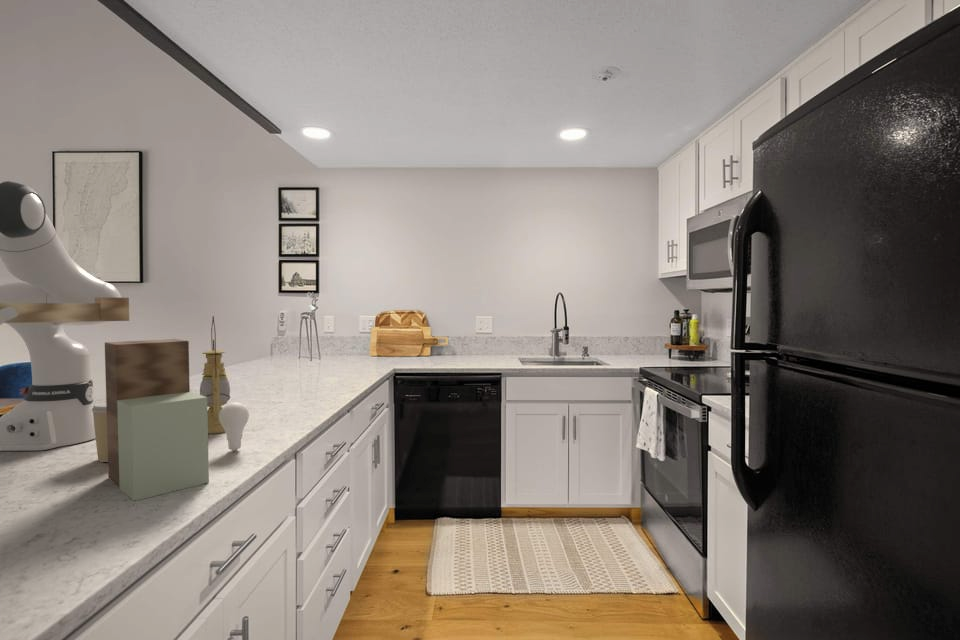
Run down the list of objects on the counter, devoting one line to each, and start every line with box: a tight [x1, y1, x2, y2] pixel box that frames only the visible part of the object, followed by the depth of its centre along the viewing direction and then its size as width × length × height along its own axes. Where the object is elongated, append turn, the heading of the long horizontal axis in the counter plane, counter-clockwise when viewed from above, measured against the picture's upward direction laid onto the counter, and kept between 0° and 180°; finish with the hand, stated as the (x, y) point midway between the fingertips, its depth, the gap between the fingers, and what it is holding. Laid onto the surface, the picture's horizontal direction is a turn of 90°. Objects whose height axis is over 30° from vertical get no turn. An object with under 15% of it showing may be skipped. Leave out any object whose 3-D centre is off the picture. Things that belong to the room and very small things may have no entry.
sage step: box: [117, 391, 210, 501], centre depth 95 cm, size 12×9×16 cm
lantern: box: [199, 315, 231, 435], centre depth 136 cm, size 12×10×30 cm
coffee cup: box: [92, 400, 108, 463], centre depth 113 cm, size 9×9×12 cm
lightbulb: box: [219, 401, 250, 452], centre depth 117 cm, size 6×6×11 cm
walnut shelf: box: [104, 338, 191, 489], centre depth 101 cm, size 12×8×26 cm, turn 137°
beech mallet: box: [0, 297, 130, 324], centre depth 85 cm, size 19×4×4 cm, turn 137°
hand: (13, 309), depth 81 cm, fingers closed on beech mallet, 3 cm apart
